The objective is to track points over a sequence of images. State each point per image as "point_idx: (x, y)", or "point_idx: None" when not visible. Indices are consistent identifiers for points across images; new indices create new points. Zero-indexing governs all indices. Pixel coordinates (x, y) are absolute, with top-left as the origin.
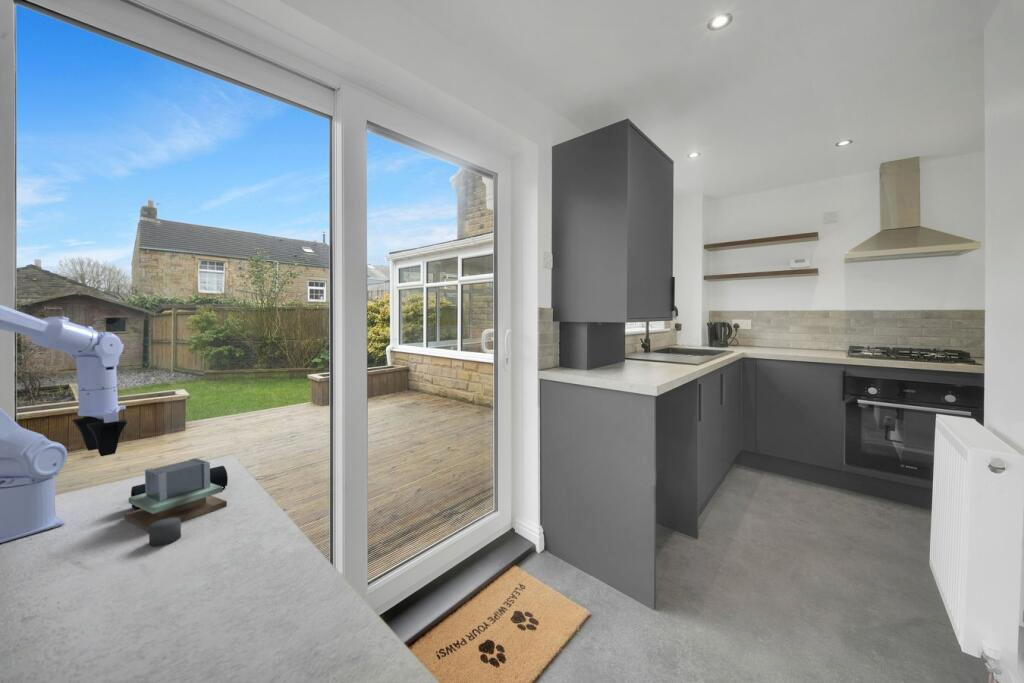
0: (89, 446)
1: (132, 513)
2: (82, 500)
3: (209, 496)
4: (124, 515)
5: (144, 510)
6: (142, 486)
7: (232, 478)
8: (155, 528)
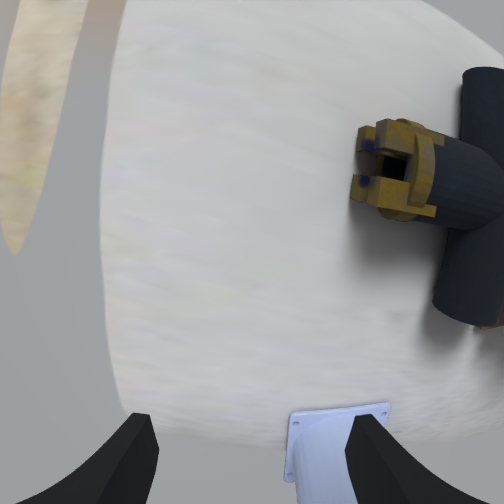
0: (152, 464)
1: None
2: (215, 349)
3: None
4: (478, 327)
5: None
6: (498, 308)
7: (429, 29)
8: None
